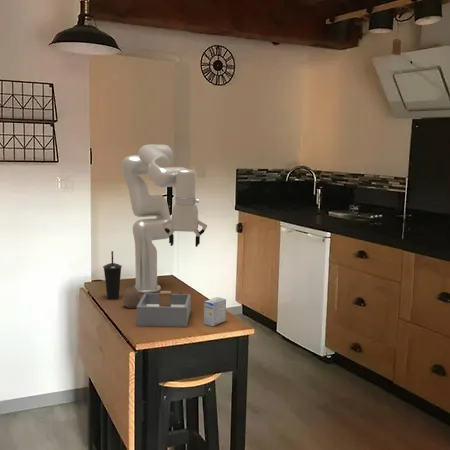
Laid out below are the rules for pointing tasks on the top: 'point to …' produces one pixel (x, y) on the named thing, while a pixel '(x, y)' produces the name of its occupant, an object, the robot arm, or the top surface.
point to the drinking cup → (112, 279)
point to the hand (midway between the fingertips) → (184, 245)
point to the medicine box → (214, 311)
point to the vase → (131, 297)
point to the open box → (164, 311)
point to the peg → (165, 299)
